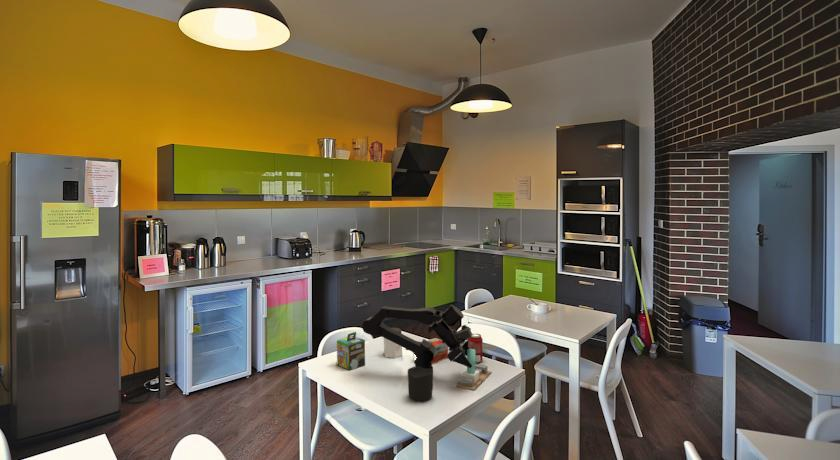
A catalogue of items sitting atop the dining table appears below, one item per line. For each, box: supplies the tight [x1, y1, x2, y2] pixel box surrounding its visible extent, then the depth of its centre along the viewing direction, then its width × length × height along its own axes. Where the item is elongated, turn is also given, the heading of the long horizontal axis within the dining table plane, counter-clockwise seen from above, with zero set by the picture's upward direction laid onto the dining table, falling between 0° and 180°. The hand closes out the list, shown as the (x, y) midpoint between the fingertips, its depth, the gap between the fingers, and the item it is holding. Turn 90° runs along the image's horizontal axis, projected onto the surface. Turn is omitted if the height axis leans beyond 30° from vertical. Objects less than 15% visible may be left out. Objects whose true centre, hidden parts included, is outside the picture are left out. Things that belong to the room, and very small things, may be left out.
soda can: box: [468, 333, 484, 364], centre depth 202 cm, size 7×7×12 cm
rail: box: [454, 363, 493, 391], centre depth 181 cm, size 20×8×3 cm, turn 152°
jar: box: [383, 327, 403, 359], centre depth 210 cm, size 9×8×12 cm
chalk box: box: [336, 331, 366, 371], centre depth 197 cm, size 9×9×15 cm
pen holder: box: [407, 366, 434, 403], centre depth 165 cm, size 9×9×10 cm
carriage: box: [462, 349, 479, 383], centre depth 178 cm, size 5×5×12 cm
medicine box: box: [427, 337, 449, 365], centre depth 204 cm, size 15×8×8 cm, turn 137°
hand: (472, 362), depth 178 cm, fingers open, 9 cm apart
